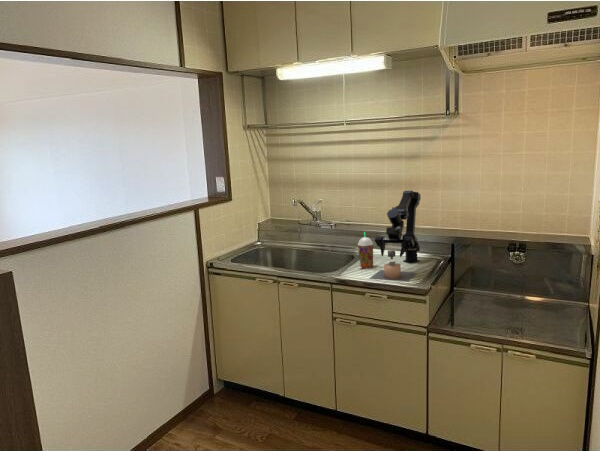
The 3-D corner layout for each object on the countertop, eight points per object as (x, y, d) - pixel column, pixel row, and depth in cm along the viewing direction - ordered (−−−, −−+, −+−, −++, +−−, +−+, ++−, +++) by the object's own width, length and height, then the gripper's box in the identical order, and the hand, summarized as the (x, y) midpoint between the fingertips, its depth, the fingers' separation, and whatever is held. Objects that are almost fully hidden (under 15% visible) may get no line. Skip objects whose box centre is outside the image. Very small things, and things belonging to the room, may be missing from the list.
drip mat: (369, 280, 223) (368, 278, 223) (380, 271, 237) (380, 269, 237) (408, 283, 213) (408, 281, 213) (418, 273, 227) (418, 272, 226)
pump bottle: (387, 274, 228) (386, 260, 226) (403, 275, 224) (402, 260, 223) (382, 278, 221) (381, 264, 220) (398, 279, 217) (397, 265, 216)
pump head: (389, 257, 223) (388, 250, 223) (396, 258, 221) (396, 250, 221) (385, 260, 218) (385, 252, 218) (392, 261, 217) (392, 253, 216)
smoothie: (357, 270, 243) (355, 233, 240) (361, 266, 251) (358, 230, 247) (373, 270, 240) (370, 233, 237) (376, 266, 248) (373, 230, 245)
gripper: (374, 220, 226) (368, 246, 219) (411, 220, 217) (406, 247, 209) (380, 232, 234) (374, 258, 227) (416, 233, 225) (411, 260, 217)
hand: (391, 256), depth 220 cm, fingers open, 9 cm apart
